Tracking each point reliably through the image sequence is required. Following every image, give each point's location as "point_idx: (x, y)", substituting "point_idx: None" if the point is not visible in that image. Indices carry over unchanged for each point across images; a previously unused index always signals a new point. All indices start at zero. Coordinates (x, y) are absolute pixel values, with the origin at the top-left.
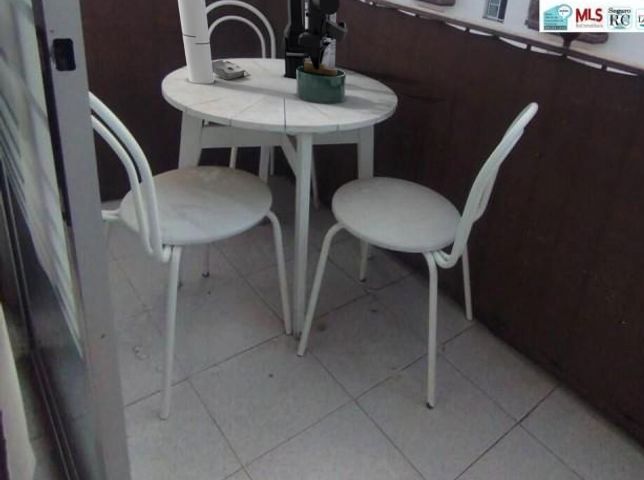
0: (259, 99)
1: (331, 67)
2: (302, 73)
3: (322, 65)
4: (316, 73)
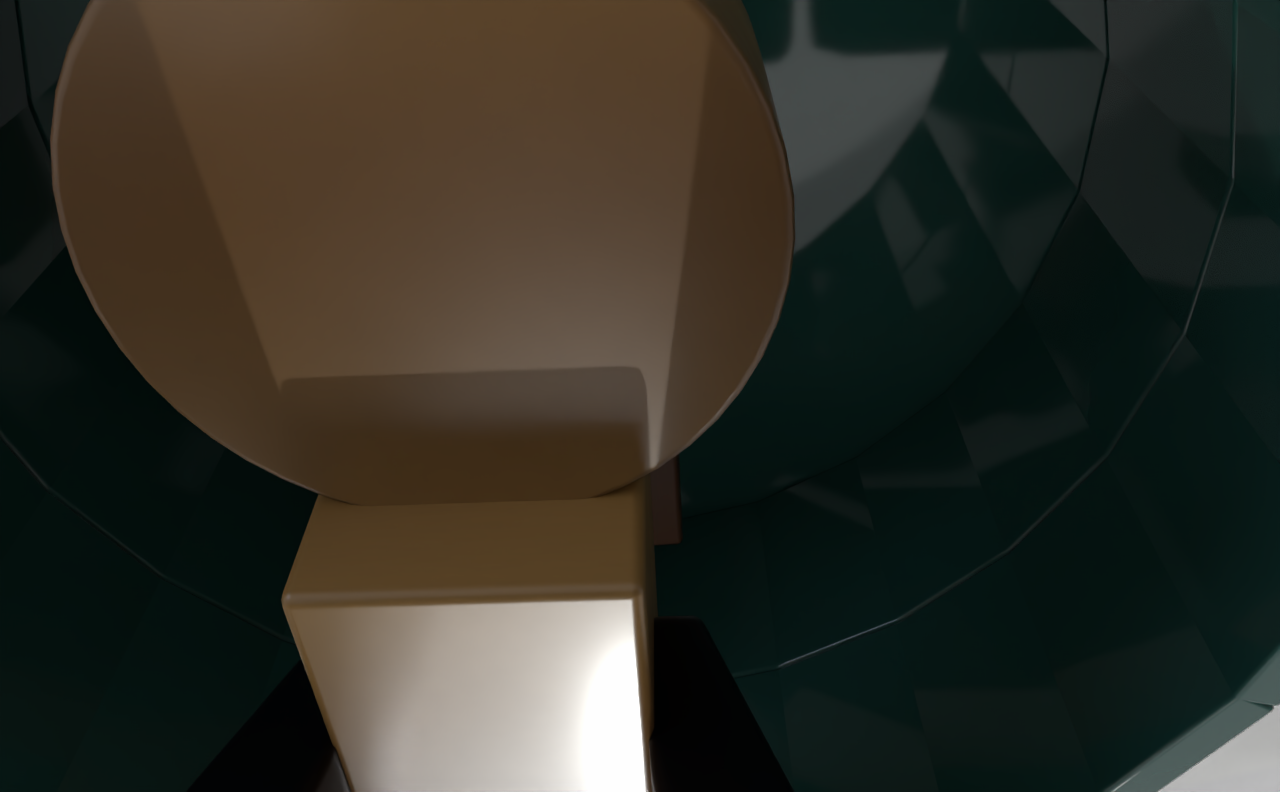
0: (1224, 753)
1: (147, 296)
2: (1171, 766)
3: (650, 628)
4: (42, 594)
